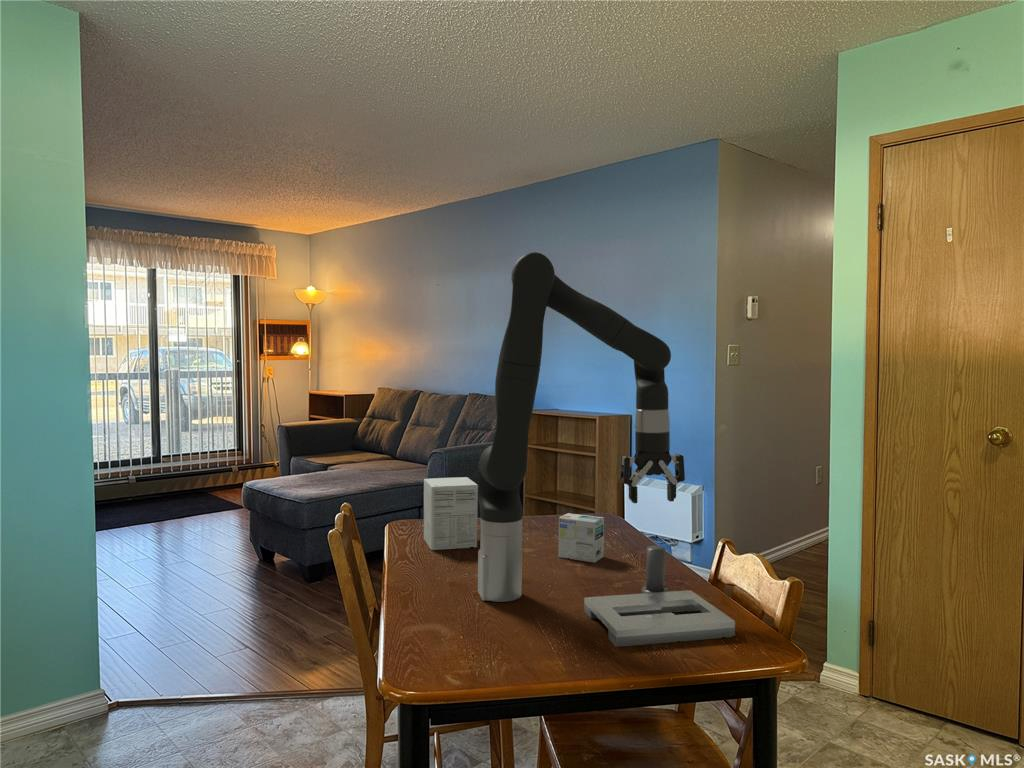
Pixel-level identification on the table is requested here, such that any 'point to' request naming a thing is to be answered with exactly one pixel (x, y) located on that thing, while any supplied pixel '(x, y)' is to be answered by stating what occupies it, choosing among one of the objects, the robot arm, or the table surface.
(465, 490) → the supplement box
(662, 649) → the table surface
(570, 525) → the light bulb box
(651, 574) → the headed peg
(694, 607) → the keyhole plate
